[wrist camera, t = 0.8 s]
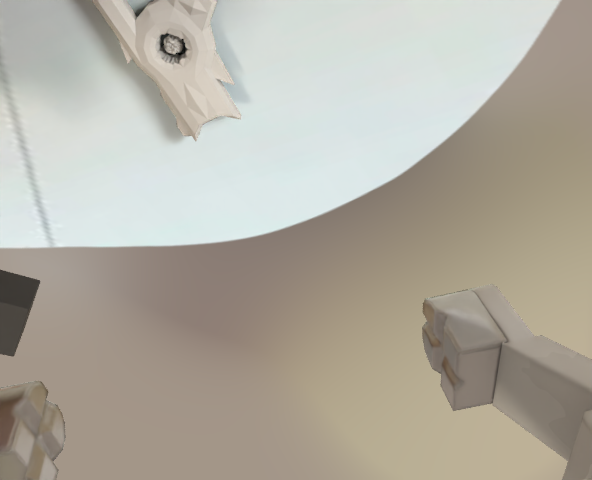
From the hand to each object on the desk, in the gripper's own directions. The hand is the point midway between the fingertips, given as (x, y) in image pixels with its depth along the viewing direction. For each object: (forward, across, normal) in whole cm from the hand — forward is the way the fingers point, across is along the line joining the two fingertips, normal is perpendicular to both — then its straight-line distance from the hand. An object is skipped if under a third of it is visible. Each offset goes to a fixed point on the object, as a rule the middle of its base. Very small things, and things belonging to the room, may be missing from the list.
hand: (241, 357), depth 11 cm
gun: (+43, +3, +3) cm, 43 cm away
